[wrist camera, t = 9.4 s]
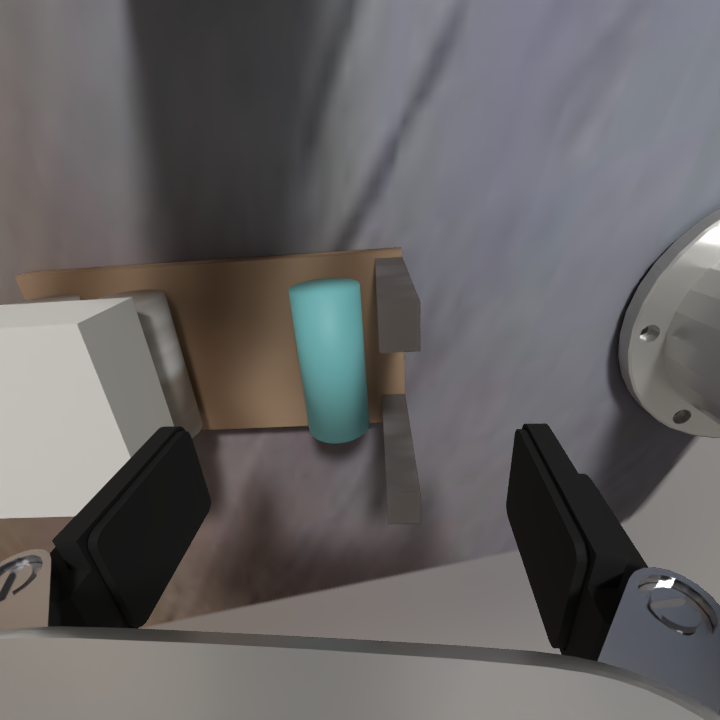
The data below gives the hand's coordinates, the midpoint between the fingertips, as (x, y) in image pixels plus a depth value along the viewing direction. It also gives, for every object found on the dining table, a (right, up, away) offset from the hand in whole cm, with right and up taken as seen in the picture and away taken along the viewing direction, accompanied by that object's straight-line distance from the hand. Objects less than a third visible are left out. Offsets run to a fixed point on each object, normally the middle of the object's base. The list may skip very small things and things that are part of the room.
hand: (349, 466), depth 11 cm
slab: (-12, +2, +5) cm, 13 cm away
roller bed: (-7, +4, +9) cm, 12 cm away
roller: (-1, +3, +7) cm, 7 cm away
